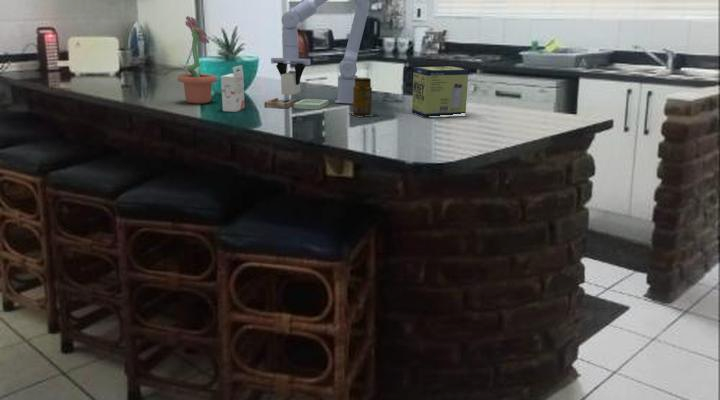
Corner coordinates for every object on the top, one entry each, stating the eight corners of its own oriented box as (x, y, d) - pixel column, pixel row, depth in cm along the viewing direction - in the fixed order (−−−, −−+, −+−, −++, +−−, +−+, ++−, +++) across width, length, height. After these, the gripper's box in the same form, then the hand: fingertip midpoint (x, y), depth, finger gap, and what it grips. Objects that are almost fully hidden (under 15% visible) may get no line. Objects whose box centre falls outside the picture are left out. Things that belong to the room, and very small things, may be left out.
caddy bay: (297, 104, 230) (297, 99, 229) (286, 108, 220) (286, 103, 219) (276, 102, 232) (275, 97, 231) (264, 107, 222) (264, 102, 221)
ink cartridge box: (231, 107, 220) (229, 64, 216) (245, 108, 219) (243, 64, 215) (221, 111, 212) (219, 66, 208) (235, 112, 211) (233, 67, 207)
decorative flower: (225, 104, 227) (221, 16, 218) (188, 106, 220) (182, 16, 211) (209, 98, 239) (205, 15, 230) (173, 101, 231) (167, 15, 222)
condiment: (366, 112, 216) (367, 76, 212) (378, 116, 208) (379, 79, 205) (347, 113, 213) (347, 77, 209) (358, 117, 205) (359, 80, 202)
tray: (328, 104, 230) (328, 100, 230) (318, 109, 219) (318, 105, 218) (305, 103, 232) (304, 98, 232) (293, 108, 221) (293, 103, 220)
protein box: (410, 113, 216) (412, 66, 211) (451, 111, 221) (454, 66, 216) (424, 118, 206) (426, 69, 202) (466, 116, 211) (469, 69, 207)
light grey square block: (300, 91, 237) (300, 71, 235) (293, 94, 230) (292, 73, 228) (289, 91, 238) (288, 70, 236) (281, 94, 231) (280, 72, 229)
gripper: (267, 46, 227) (268, 84, 231) (305, 47, 224) (306, 86, 228) (274, 45, 234) (275, 82, 238) (312, 46, 231) (312, 84, 235)
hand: (291, 84), depth 234 cm, fingers closed on light grey square block, 4 cm apart
